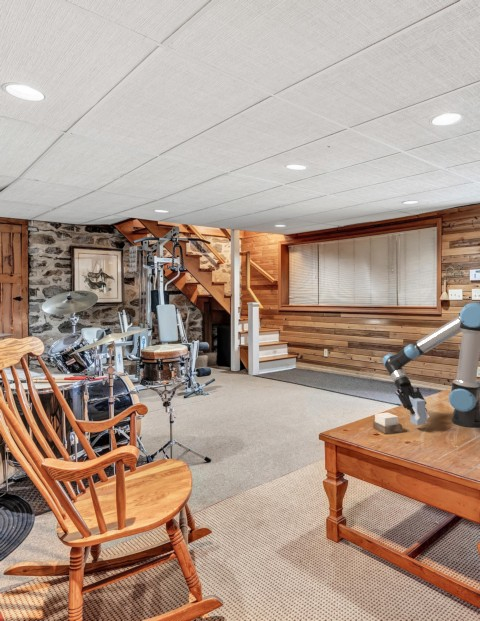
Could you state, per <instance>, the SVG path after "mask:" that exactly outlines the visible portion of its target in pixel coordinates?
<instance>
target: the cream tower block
mask: <svg viewBox="0 0 480 621" xmlns="http://www.w3.org/2000/svg"><path fill="white" fill-rule="evenodd" d="M374 421H375V422H377V423H379V424H381V425H383V426H391V425H398V423H399V416H398V415H396V414H393V413H391V412H389V411H388V412H380V413H374Z"/></svg>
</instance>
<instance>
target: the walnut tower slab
mask: <svg viewBox="0 0 480 621" xmlns="http://www.w3.org/2000/svg"><path fill="white" fill-rule="evenodd" d="M372 426H373V427H372V428H373V429H374V430H375V431H378V432H379V433H381V434H383V435H390V434H397V433H398V434H399V433H403V424H402V423H401V424H400V423H399V422H398V425H391V426H383V425H381V424H379V423H377V422H375V420H372Z"/></svg>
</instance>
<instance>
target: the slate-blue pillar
mask: <svg viewBox="0 0 480 621" xmlns="http://www.w3.org/2000/svg"><path fill="white" fill-rule="evenodd" d="M410 401H411V404H412V407H414V408H415V409H416V411H417V413H418V415H419V416H420V419H419V420H418V421H416V419H415V417H414V415H413V414H411V412H410V411H409V412H410V423H411V424H414V425H416V426H420V425H422V426H423V425H426V424H427V422H426V420H427V419H426V416H425V408H426V405H425V401H426V400H422V399H419V398H416V399H413V398H410Z"/></svg>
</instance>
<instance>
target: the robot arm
mask: <svg viewBox="0 0 480 621" xmlns="http://www.w3.org/2000/svg"><path fill="white" fill-rule="evenodd" d="M460 333H461V342H460V348H459V356H458V364H457V372H456V378H454V380H452V383H451V391H450V393H449V394H448V401H449V404H450V406H451V407H452V408H453V409H454V410H453V412H452V415H451V423H453V424H454V425H456V426H462V427H466V428H480V381H478V380H477V375H478V369H479V368H478V367H479V361H480V301H474V302H469V303H467V304H466V305H464V306H463V307H462V308H461V310H460V312H459V313H458V314H457V316H456V317H455V318H453V319H451V320H449V321H448V322H447V323H445V324H443V325H442V326H440V327H438V328H436V329H435V330H433V331H432V332H430V333H428V334H426V335H425V336H424V337H422V338H420V339H419V340H417V341H414V342H413V343H412V344H411V343H409V344H407V345H405V347H404V348H403V349H400V351H398V352H397V353H395V354H394V353H388V354H386V355H384V356H383V357H382V364H383V365H384V367H385V369H386V371H387V373H388V374H389V376H390V378H391V380H392V381H393V383H394V385H395V386H396V391H395V392H394V393H395V395H396V396H397V397H398V399H399V401H400V403H401V405H402V406H403V408H404V409H406V410H408V411H409V412H411V414H413V415H414V417H415V419H416V421H418V420H419V419H420V416H419V415H418V413H417V411H416V409H415V408H414V407H412V404H411V401H410V399H416V398H419V399H422V400H425V398H424V396H423V395H422V393H421V392H420V389H419V387H418V386H417V387H416V388H415V387H414V386H413V385H412V382H411V380H410V378H409V377H408V375H407V374H406V372H405V371H404V369H403V367H405V366H406V365H407V364H409V363H411V362H412V361H414V360H415V359H417V358H419V357H421V356H423V355H424V354H425V353H427V352H429V351H430V350H432V349H434V348H435V347H437V346H440V345H441V344H443V343H445V342H446V341H448V340H450V339H451V338H453V337H455V336H457V335H458V334H460ZM425 406H427V401H426V400H425ZM425 416H426V420H428V419H429V418H430V415H429V413H428V409H427V407H425Z"/></svg>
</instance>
